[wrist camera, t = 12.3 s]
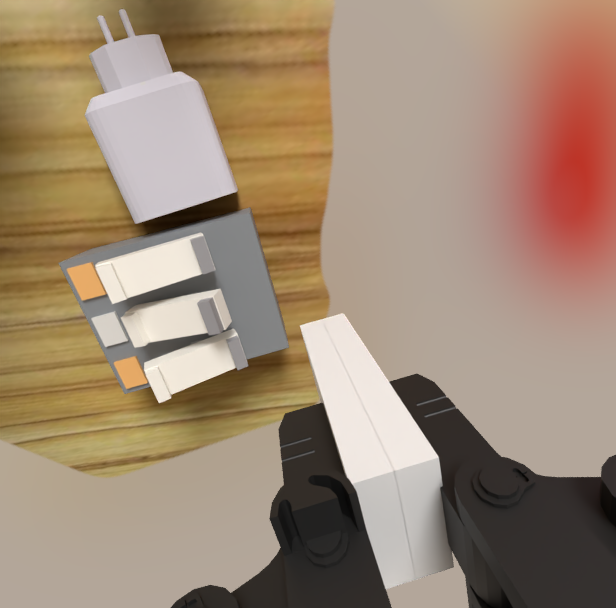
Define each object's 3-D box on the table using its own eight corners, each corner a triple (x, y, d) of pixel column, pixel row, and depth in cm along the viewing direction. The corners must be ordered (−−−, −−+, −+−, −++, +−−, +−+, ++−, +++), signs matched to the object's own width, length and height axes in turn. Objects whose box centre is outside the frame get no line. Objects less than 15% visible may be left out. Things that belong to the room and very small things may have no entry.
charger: (175, 9, 30) (238, 190, 35) (67, 42, 29) (148, 219, 35) (161, -20, 25) (236, 192, 31) (34, 17, 25) (132, 225, 30)
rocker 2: (149, 335, 32) (134, 348, 30) (135, 304, 31) (119, 316, 29) (231, 321, 30) (222, 334, 28) (220, 288, 29) (209, 299, 27)
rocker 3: (157, 391, 32) (158, 404, 29) (144, 362, 31) (143, 374, 28) (243, 356, 34) (249, 366, 32) (233, 328, 33) (239, 336, 31)
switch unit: (140, 363, 39) (118, 399, 33) (87, 250, 35) (49, 266, 28) (284, 323, 40) (289, 351, 34) (250, 207, 36) (249, 213, 29)
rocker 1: (114, 298, 28) (111, 305, 26) (97, 262, 27) (93, 267, 25) (212, 266, 31) (217, 271, 29) (200, 232, 30) (204, 234, 28)
